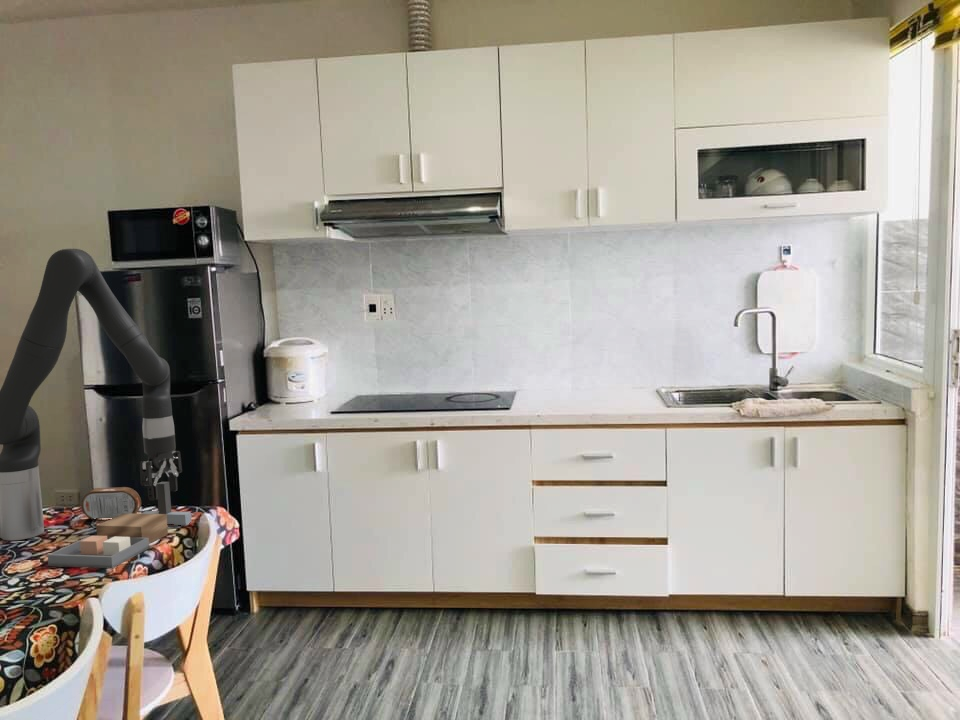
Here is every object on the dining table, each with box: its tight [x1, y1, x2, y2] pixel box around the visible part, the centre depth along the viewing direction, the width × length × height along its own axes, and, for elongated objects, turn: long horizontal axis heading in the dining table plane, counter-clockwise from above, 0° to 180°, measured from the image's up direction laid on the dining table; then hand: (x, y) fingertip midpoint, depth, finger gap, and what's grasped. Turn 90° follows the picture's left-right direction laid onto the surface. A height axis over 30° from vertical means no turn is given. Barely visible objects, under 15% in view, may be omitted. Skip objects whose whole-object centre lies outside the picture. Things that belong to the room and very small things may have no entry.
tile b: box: [103, 536, 131, 555], centre depth 171 cm, size 4×4×3 cm
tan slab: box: [95, 513, 169, 545], centre depth 181 cm, size 12×10×5 cm
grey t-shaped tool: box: [140, 481, 192, 527], centre depth 194 cm, size 13×2×11 cm, turn 80°
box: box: [47, 535, 150, 569], centre depth 170 cm, size 16×13×2 cm
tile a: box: [80, 535, 108, 554], centre depth 172 cm, size 4×4×3 cm
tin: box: [81, 486, 142, 520], centre depth 200 cm, size 15×3×8 cm, turn 92°
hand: (163, 495), depth 194 cm, fingers open, 8 cm apart
